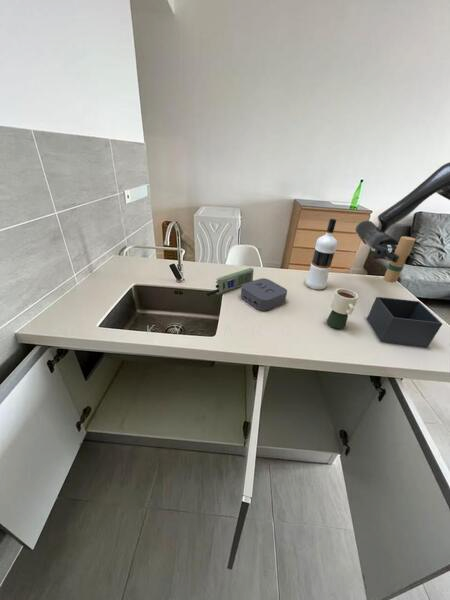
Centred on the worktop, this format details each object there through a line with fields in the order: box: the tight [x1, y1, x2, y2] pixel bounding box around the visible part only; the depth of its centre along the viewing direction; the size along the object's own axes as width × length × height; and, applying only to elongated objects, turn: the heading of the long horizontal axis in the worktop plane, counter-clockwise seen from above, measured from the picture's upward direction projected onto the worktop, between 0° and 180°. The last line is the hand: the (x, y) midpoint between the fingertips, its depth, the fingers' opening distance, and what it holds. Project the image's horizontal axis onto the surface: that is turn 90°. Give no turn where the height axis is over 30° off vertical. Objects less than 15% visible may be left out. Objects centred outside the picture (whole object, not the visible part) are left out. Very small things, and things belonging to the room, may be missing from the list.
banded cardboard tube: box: [383, 235, 417, 284], centre depth 82 cm, size 4×4×15 cm
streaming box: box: [240, 278, 288, 312], centre depth 98 cm, size 14×14×5 cm
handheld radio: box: [206, 267, 254, 297], centre depth 104 cm, size 7×3×25 cm
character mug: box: [326, 287, 359, 330], centre depth 83 cm, size 11×7×13 cm, turn 4°
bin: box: [366, 296, 443, 349], centre depth 82 cm, size 14×13×10 cm
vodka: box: [304, 218, 338, 291], centre depth 104 cm, size 9×9×30 cm
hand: (403, 260), depth 79 cm, fingers closed on banded cardboard tube, 4 cm apart
